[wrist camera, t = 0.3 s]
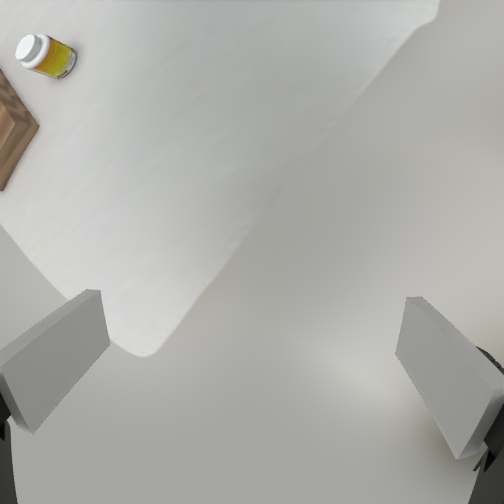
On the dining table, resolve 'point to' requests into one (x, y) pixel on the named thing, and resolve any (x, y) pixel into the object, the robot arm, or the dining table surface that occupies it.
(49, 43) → the supplement bottle
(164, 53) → the dining table surface
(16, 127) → the socket block
